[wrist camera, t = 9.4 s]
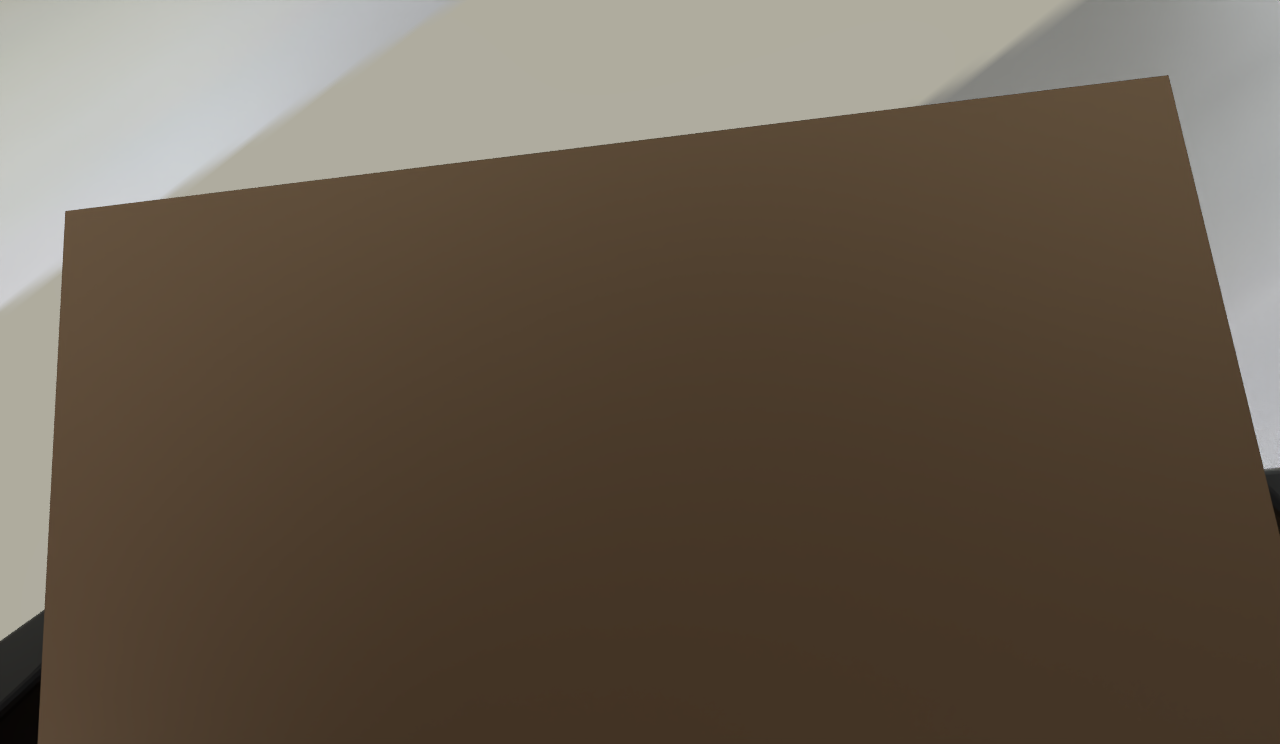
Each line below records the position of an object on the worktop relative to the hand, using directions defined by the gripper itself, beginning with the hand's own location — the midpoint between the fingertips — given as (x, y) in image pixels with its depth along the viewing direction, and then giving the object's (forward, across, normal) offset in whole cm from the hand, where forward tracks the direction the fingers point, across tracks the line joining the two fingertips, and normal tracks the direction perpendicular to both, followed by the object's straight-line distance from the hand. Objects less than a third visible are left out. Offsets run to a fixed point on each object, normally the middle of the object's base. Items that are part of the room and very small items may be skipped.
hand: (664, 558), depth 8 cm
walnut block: (+5, 0, +7) cm, 8 cm away
